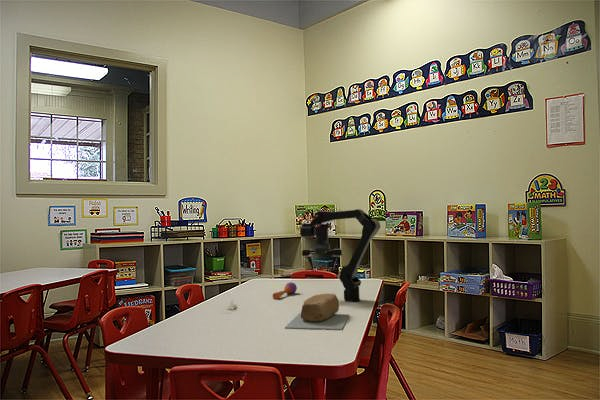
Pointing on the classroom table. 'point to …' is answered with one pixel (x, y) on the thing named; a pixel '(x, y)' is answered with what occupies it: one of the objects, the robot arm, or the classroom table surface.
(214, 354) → the classroom table surface
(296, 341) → the classroom table surface
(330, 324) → the mat
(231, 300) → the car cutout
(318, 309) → the block
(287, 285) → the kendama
